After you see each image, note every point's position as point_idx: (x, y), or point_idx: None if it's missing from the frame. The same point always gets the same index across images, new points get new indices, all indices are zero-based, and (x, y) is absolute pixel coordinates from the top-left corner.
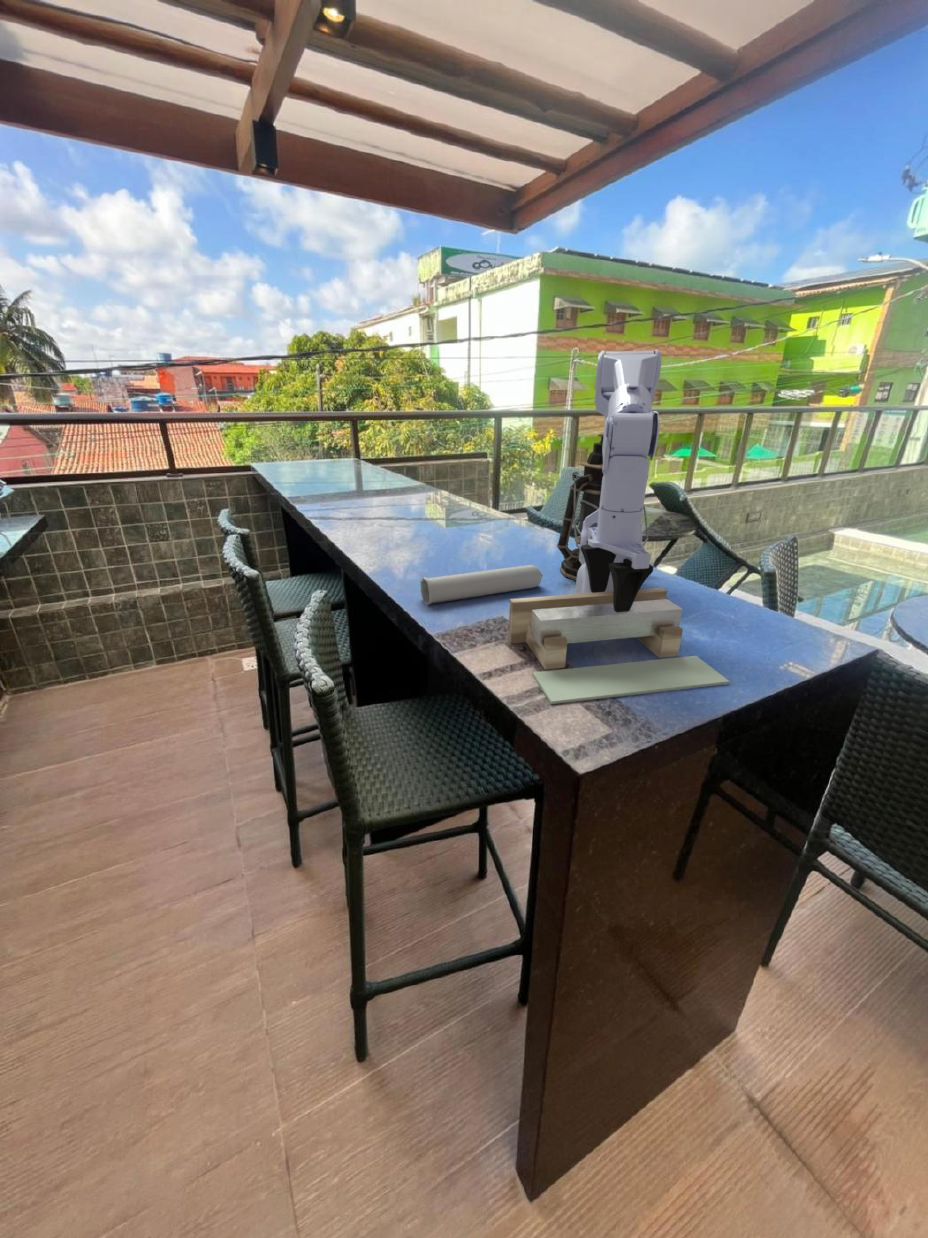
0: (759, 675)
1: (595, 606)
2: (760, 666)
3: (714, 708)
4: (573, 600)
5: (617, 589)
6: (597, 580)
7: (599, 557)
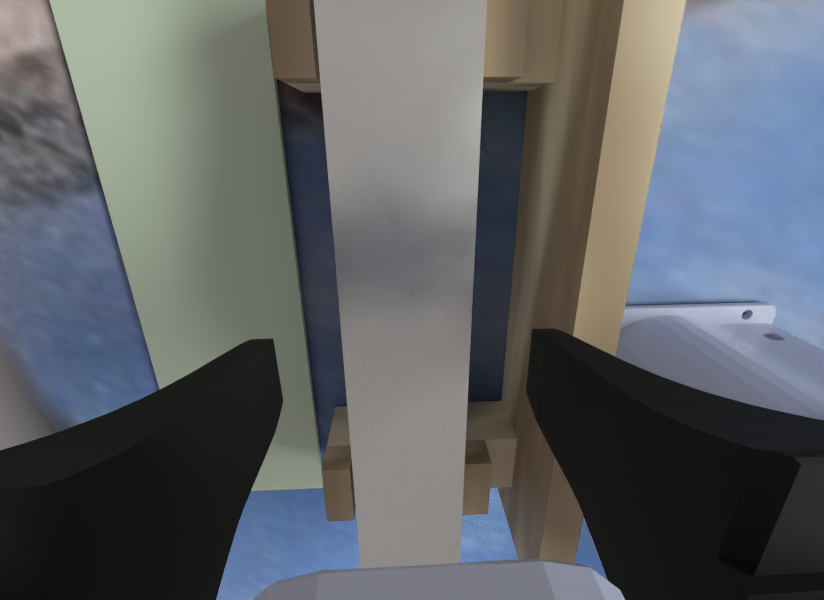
0: (231, 556)
1: (452, 301)
2: (272, 576)
3: (74, 409)
4: (581, 234)
5: (135, 402)
6: (559, 388)
7: (653, 518)
